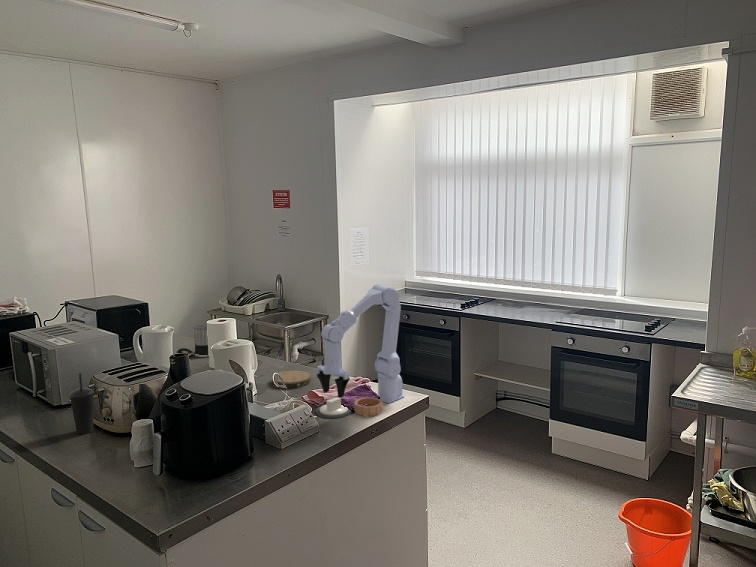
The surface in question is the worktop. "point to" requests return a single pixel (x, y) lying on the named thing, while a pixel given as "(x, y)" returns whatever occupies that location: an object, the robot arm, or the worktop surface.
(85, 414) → the drinking cup
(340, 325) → the robot arm
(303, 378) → the brown round disc
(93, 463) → the worktop surface
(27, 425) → the worktop surface
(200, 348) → the milk frother
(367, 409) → the bowl
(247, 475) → the worktop surface
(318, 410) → the mat
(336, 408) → the lid
